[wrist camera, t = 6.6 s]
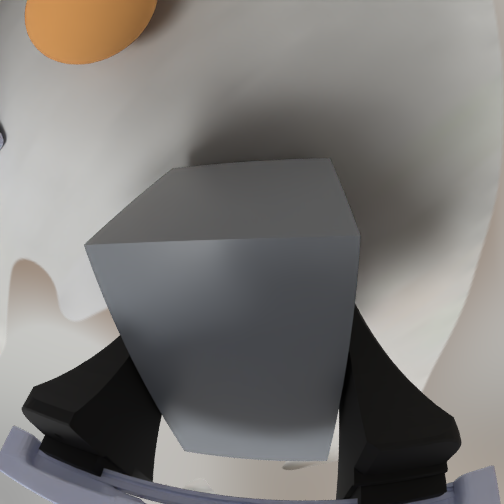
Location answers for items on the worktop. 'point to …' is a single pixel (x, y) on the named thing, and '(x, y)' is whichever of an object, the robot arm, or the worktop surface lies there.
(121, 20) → the ball
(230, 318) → the gray rectangular block
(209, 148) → the worktop surface
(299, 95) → the worktop surface
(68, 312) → the worktop surface
